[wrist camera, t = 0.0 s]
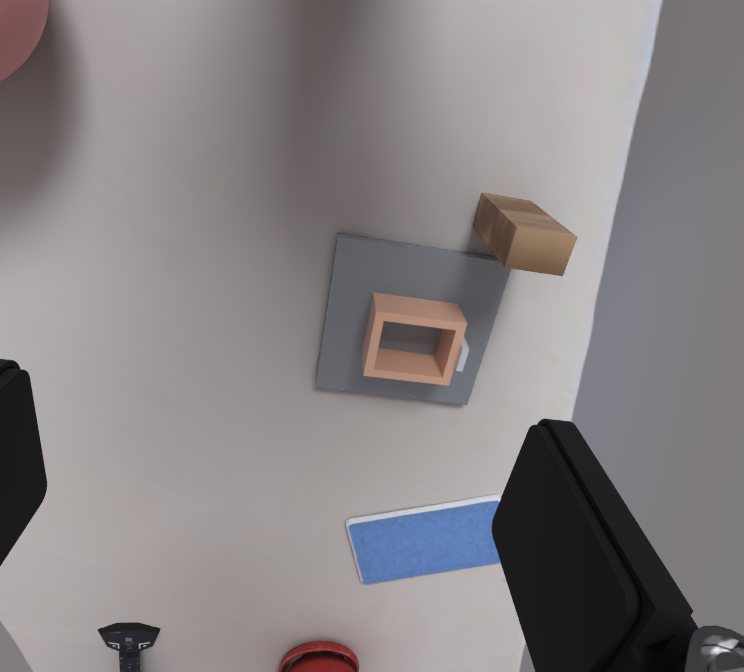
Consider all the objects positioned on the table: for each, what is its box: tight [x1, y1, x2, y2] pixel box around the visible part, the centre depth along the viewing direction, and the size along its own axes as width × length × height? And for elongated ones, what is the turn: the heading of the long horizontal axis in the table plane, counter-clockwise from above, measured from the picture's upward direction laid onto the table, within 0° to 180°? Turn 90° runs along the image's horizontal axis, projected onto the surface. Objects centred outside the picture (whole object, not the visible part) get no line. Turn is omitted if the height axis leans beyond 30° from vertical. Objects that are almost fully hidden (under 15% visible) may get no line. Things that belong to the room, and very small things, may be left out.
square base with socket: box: [316, 233, 511, 405], centre depth 48 cm, size 16×16×6 cm
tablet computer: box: [346, 494, 501, 585], centre depth 66 cm, size 19×13×1 cm, turn 99°
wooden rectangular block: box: [473, 193, 577, 276], centre depth 41 cm, size 3×4×10 cm, turn 80°
